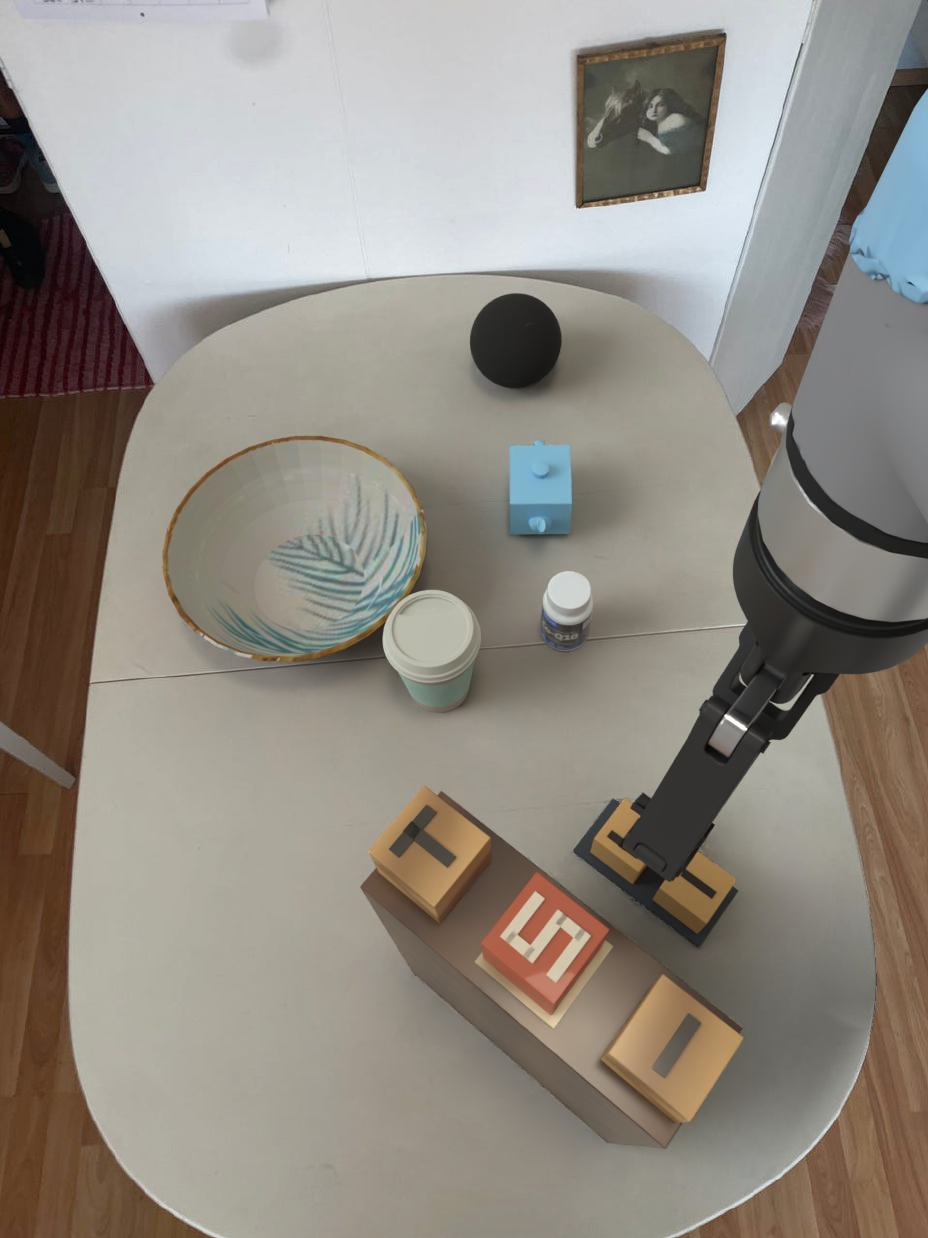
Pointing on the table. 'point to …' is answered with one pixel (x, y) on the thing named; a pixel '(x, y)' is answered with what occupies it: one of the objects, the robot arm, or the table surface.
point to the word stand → (538, 1042)
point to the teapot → (540, 489)
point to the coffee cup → (433, 647)
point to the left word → (658, 877)
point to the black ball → (515, 340)
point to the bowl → (294, 548)
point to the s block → (544, 942)
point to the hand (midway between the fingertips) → (737, 749)
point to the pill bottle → (566, 611)
